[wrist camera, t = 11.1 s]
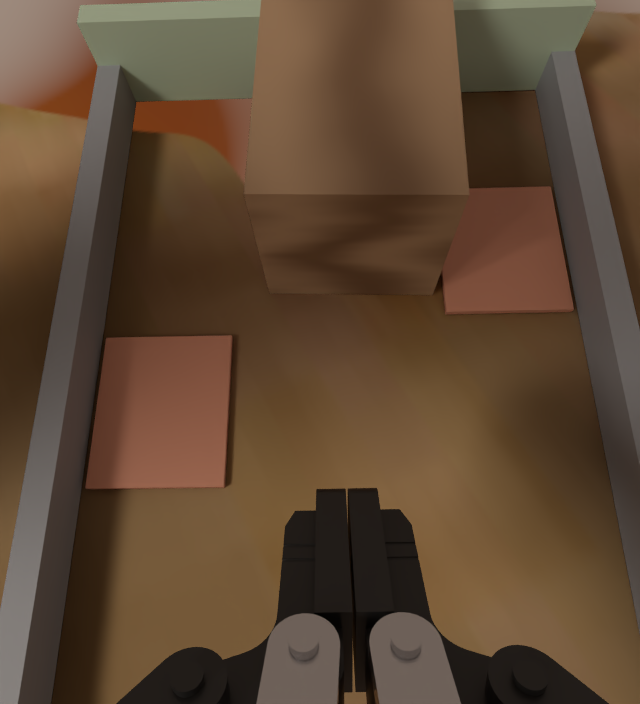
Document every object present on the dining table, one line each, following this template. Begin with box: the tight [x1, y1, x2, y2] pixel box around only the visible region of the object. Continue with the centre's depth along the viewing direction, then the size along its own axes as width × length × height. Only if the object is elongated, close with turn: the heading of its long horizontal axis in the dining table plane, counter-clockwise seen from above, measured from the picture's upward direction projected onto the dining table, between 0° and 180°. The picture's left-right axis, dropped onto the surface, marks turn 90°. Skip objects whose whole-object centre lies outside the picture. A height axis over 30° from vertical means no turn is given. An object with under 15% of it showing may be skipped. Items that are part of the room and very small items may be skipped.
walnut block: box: [244, 0, 469, 295], centre depth 25 cm, size 8×12×8 cm, turn 179°
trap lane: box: [0, 0, 640, 704], centre depth 23 cm, size 25×33×5 cm
